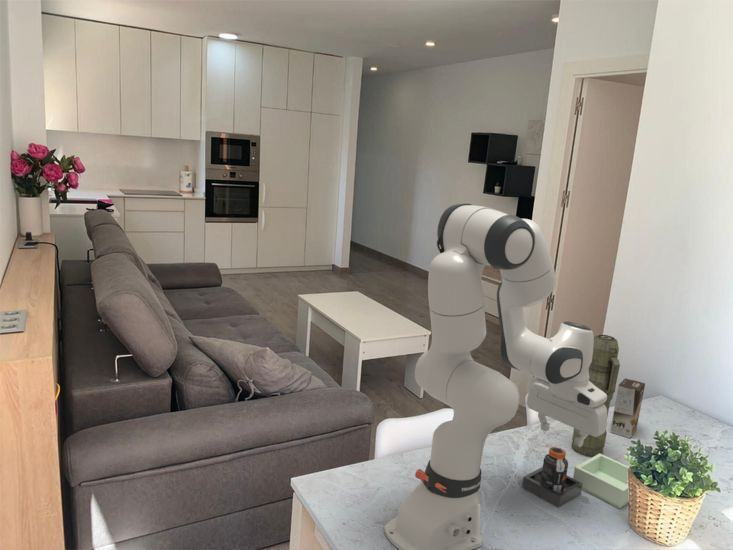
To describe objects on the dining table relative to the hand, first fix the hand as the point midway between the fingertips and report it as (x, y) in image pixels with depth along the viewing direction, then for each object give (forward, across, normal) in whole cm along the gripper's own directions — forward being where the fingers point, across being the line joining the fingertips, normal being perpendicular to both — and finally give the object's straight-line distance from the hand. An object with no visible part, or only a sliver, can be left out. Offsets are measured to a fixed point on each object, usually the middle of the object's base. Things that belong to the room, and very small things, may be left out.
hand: (561, 437), depth 144 cm
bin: (+15, +8, +13) cm, 21 cm away
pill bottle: (+15, 0, -1) cm, 15 cm away
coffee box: (+16, -6, +51) cm, 54 cm away
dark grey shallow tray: (+15, 0, -1) cm, 15 cm away
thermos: (+16, -6, +28) cm, 33 cm away
